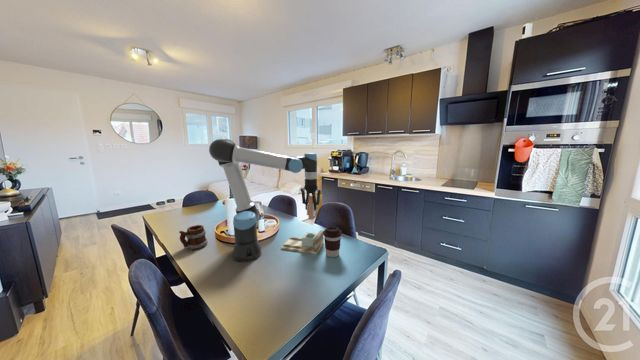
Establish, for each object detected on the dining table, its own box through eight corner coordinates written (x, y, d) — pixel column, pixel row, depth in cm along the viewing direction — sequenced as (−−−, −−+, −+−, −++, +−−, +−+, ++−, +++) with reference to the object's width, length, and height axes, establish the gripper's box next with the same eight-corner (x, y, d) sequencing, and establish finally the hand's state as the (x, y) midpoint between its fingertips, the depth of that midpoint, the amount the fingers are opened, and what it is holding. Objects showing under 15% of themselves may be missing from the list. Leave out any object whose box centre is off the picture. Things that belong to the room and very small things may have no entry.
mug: (213, 243, 135) (207, 221, 130) (191, 257, 123) (184, 234, 119) (202, 239, 141) (195, 218, 136) (180, 252, 129) (172, 230, 124)
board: (280, 249, 127) (280, 235, 126) (290, 238, 140) (290, 226, 139) (316, 254, 121) (316, 240, 119) (323, 243, 134) (323, 230, 133)
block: (301, 246, 126) (301, 238, 125) (306, 240, 134) (306, 232, 133) (314, 248, 124) (314, 239, 123) (319, 242, 132) (318, 234, 131)
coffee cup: (340, 259, 115) (340, 233, 112) (322, 258, 117) (321, 231, 114) (342, 250, 124) (342, 226, 122) (325, 249, 126) (325, 224, 124)
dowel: (307, 219, 137) (307, 196, 134) (309, 217, 140) (309, 194, 137) (312, 219, 136) (312, 196, 133) (314, 218, 139) (314, 195, 136)
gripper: (296, 178, 132) (296, 215, 136) (321, 180, 128) (321, 218, 132) (300, 176, 139) (301, 211, 143) (325, 178, 135) (324, 214, 139)
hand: (311, 214), depth 138 cm, fingers closed on dowel, 3 cm apart
